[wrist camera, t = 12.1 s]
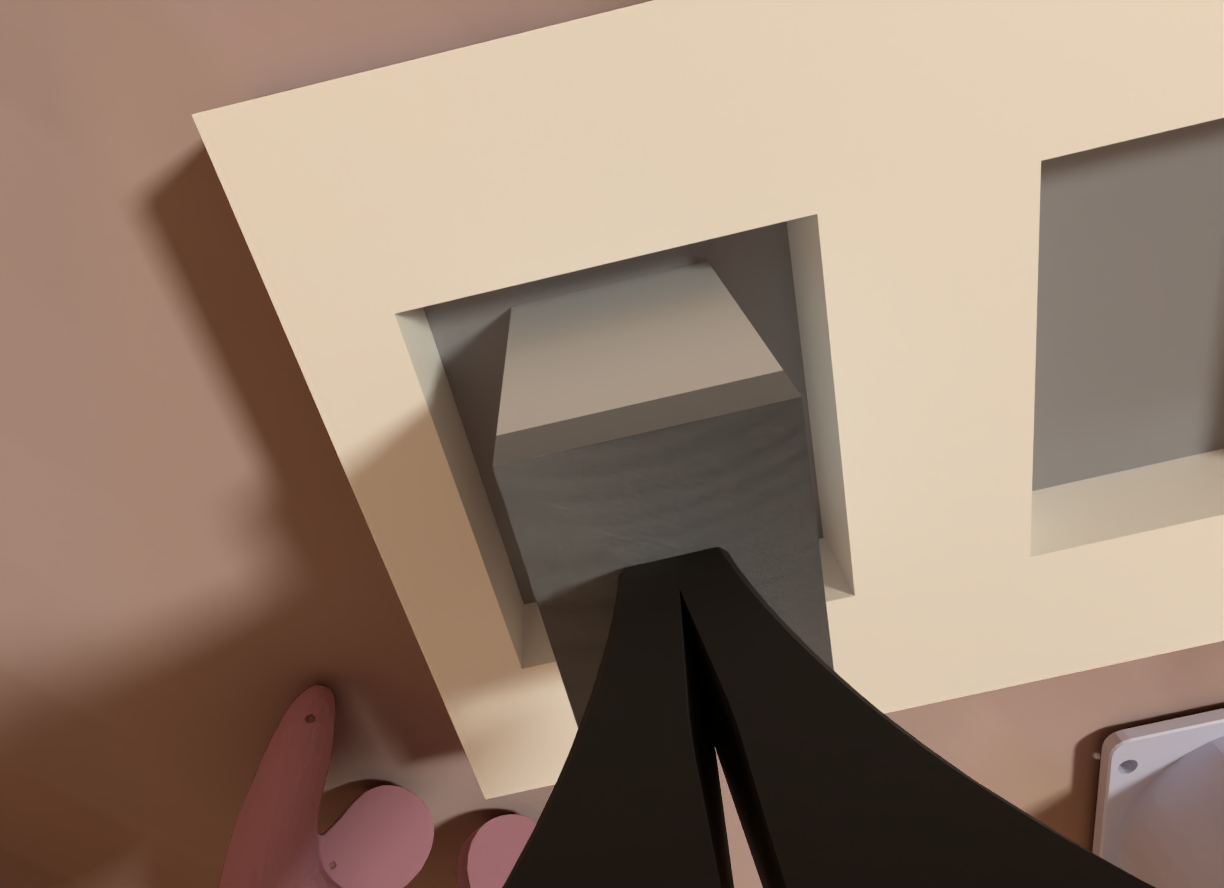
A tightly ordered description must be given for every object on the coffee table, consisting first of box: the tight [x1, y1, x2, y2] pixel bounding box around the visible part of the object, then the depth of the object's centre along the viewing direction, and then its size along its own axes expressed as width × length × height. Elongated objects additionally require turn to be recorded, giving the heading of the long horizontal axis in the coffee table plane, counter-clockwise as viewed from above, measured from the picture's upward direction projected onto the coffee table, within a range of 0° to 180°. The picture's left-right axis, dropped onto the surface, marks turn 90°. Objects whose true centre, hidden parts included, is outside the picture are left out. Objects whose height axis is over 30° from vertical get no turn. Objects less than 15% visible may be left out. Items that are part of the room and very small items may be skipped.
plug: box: [492, 261, 834, 728], centre depth 13 cm, size 5×4×6 cm
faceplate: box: [192, 0, 1224, 799], centre depth 15 cm, size 14×20×2 cm
